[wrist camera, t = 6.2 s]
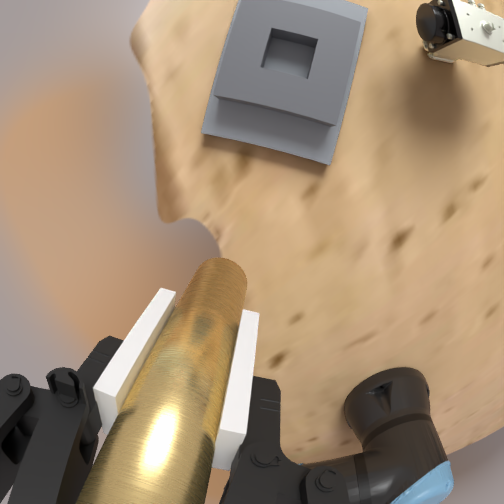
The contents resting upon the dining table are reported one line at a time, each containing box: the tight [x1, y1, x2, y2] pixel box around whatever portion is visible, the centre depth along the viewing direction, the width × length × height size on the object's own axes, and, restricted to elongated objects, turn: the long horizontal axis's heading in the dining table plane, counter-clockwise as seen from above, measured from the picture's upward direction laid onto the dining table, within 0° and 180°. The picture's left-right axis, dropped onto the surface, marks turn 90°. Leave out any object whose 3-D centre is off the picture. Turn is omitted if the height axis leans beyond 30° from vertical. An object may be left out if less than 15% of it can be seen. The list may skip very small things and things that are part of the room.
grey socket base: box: [201, 0, 368, 165], centre depth 25 cm, size 20×14×4 cm
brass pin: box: [76, 258, 247, 504], centre depth 11 cm, size 3×3×15 cm
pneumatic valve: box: [416, 0, 504, 67], centre depth 19 cm, size 6×12×12 cm, turn 95°
